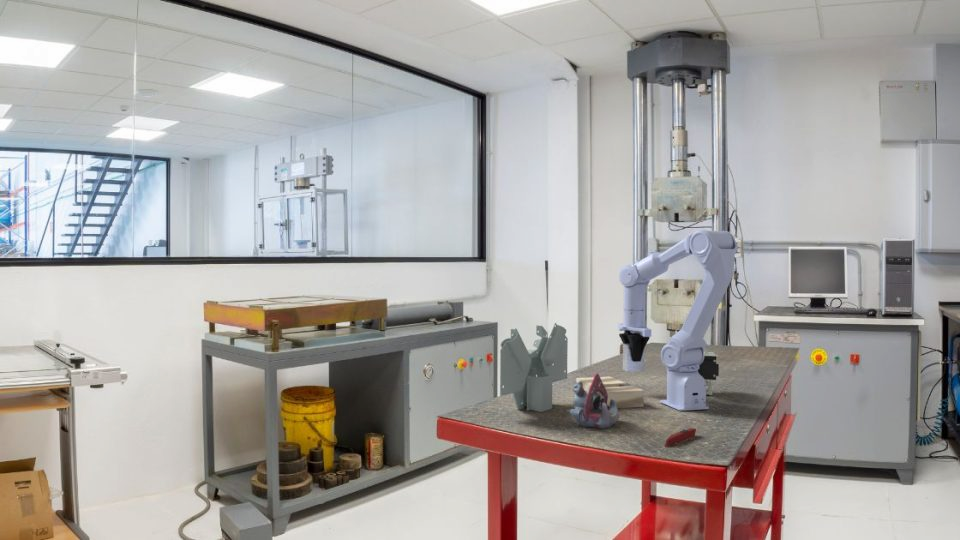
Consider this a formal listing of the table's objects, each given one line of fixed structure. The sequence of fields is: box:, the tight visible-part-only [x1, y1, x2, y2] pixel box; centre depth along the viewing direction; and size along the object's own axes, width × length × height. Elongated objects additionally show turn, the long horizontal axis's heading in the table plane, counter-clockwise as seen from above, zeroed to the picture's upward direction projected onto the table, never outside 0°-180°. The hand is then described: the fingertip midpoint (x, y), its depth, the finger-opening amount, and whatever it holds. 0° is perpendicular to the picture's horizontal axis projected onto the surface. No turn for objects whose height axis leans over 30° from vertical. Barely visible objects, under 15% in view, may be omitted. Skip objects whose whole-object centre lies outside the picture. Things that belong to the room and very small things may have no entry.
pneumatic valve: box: [698, 348, 720, 396], centre depth 164 cm, size 6×12×12 cm, turn 163°
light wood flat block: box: [575, 376, 645, 409], centre depth 157 cm, size 18×10×4 cm, turn 14°
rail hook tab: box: [622, 343, 645, 372], centre depth 164 cm, size 2×5×7 cm, turn 104°
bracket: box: [499, 322, 569, 413], centre depth 148 cm, size 28×7×20 cm, turn 139°
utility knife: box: [664, 427, 697, 448], centre depth 122 cm, size 12×1×2 cm, turn 133°
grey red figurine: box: [566, 372, 620, 429], centre depth 135 cm, size 11×11×12 cm
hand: (633, 360), depth 164 cm, fingers closed on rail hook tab, 2 cm apart
